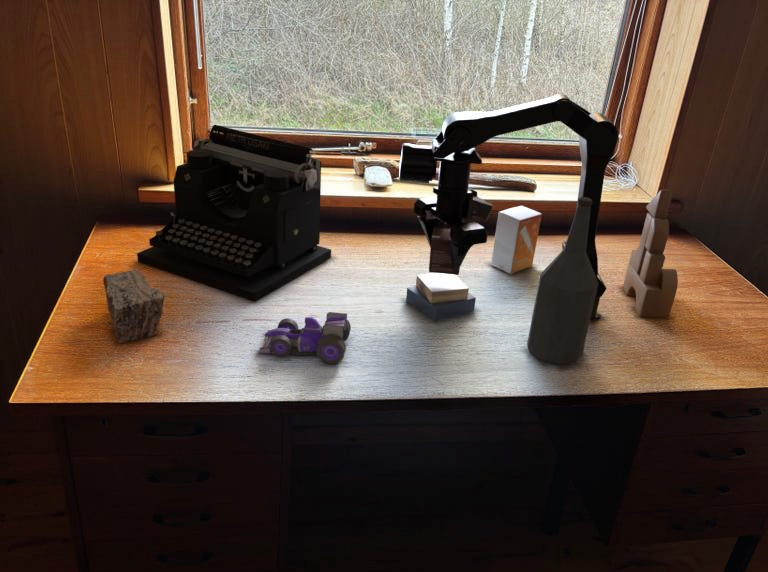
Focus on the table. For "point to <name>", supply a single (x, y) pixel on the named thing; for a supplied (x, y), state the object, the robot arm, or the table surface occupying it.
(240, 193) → the typewriter
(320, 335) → the toy race car
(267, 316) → the table surface
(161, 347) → the table surface
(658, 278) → the wooden toy
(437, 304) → the stack base
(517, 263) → the small box
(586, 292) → the bottle
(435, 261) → the box
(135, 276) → the stone block
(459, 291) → the stack top
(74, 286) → the table surface
